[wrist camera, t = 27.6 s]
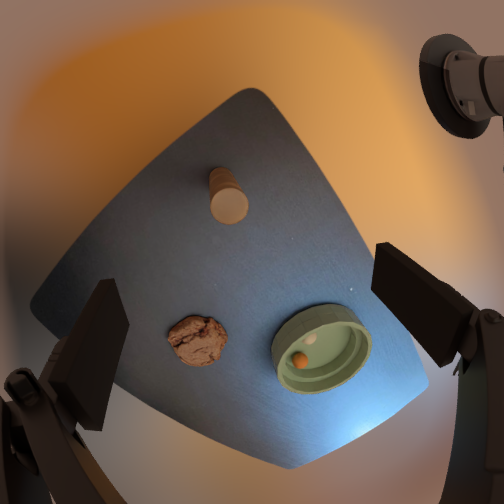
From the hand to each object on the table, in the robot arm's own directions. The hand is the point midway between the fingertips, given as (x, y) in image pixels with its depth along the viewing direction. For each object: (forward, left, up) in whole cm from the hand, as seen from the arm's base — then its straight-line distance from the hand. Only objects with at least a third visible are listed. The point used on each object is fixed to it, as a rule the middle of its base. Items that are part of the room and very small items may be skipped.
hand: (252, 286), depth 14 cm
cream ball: (-12, +26, -24) cm, 38 cm away
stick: (0, -1, -27) cm, 27 cm away
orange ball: (-10, +32, -24) cm, 42 cm away
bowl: (-14, +30, -27) cm, 43 cm away
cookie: (+7, +25, -27) cm, 37 cm away
